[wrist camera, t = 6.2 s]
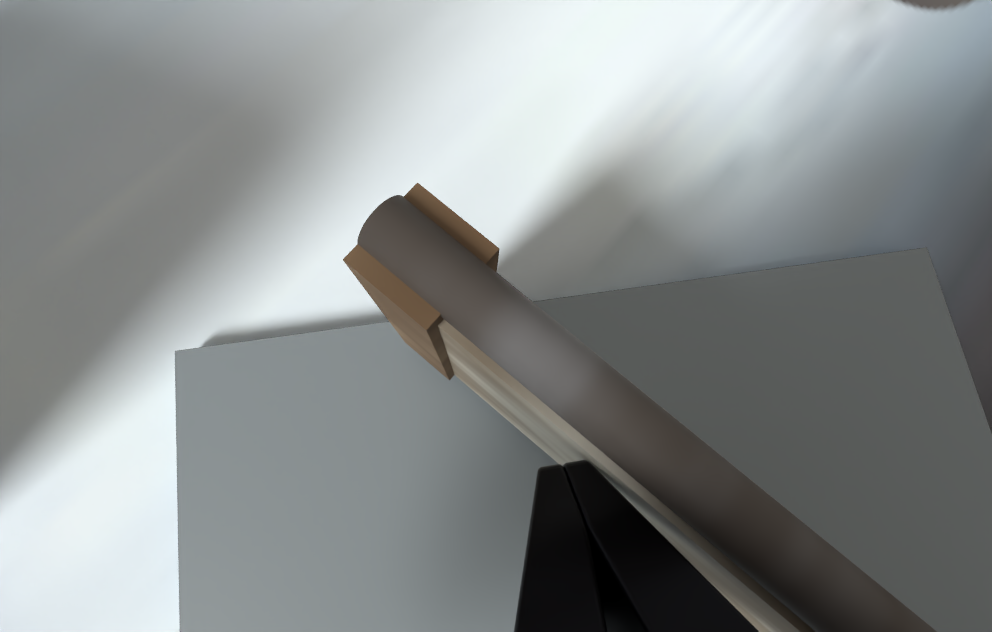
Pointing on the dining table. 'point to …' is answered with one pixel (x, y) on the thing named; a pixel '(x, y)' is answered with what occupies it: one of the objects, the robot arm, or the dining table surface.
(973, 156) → the dining table surface
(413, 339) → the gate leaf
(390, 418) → the board
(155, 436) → the dining table surface
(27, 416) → the dining table surface
